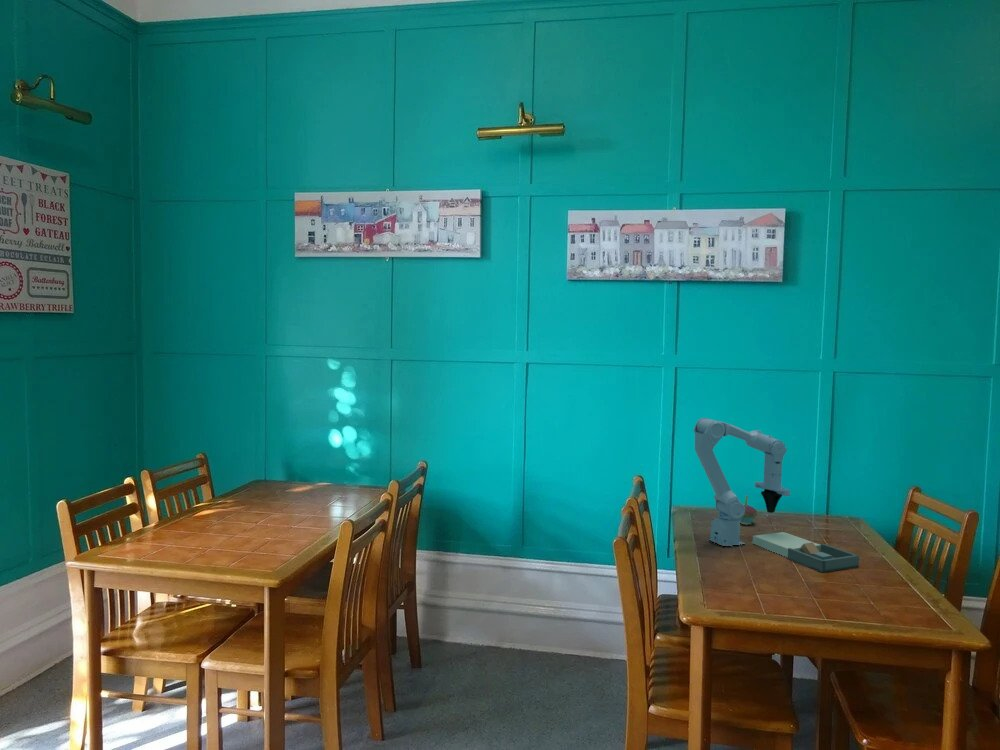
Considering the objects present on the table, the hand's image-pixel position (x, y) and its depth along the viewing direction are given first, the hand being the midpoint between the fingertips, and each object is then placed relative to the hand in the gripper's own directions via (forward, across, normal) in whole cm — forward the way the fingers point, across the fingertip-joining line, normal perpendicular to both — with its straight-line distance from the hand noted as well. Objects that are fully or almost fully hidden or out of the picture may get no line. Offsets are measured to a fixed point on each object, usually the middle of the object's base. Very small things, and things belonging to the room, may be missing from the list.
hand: (770, 512), depth 246 cm
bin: (+10, -24, +1) cm, 26 cm away
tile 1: (+8, -18, +1) cm, 20 cm away
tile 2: (+8, -23, 0) cm, 24 cm away
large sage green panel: (+10, -9, +1) cm, 14 cm away
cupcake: (+11, +22, -8) cm, 25 cm away
